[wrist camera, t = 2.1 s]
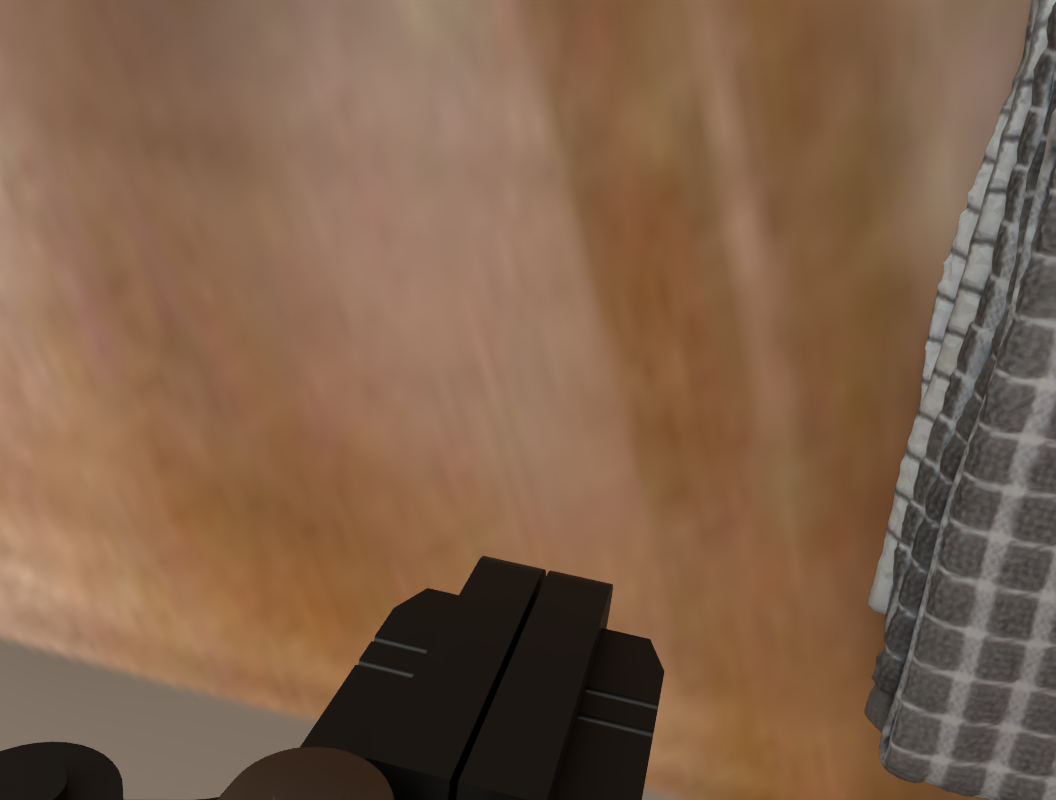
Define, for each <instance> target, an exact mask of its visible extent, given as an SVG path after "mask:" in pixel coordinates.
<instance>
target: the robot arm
mask: <svg viewBox="0 0 1056 800" xmlns="http://www.w3.org/2000/svg"><path fill="white" fill-rule="evenodd" d="M612 590H613V584H609V583H604V582H600V581H595V580H591V579H586V578H582V577H577V576H573V575H568V574H564V573H559V572H555V571H549V572H548V574H547V576H546V571H545V569H540V568H536V567H531V566H527V565H522V564H518V563H513V562H509V561H504V560H500V559H496V558H491V557H487V556H482V557H481V558H480V560H479V561H478V563H477V565H476V566H475V568H474V570H473V572H472V573H471V575H470V577H469V579H468V580H467V582H466V584H465V586H464V587H463V589H462V591H461V593H460V594H459V595H455V594H451V593H446V592H442V591H438V590H433V589H429V588H427V589H425V590H424V591H422V592H420V593H419V594H417V595H415V596H413V597H412V598H410V599H408V600H407V601H405V602H403V603H402V604H400V605H398V606H396V607H395V608H394V609H393V610H392V612H391V613H390V615H389V616H388V618H387V619H386V620H385V622H384V623H383V625H382V626H381V628H380V629H379V631H378V632H377V634H376V635H375V639H374V642H372V641H371V643H370V644H369V646H368V647H367V649H366V650H365V652H364V653H363V655H362V656H361V658H360V659H359V664H358V665H355V666H354V668H353V669H352V671H351V672H350V674H349V675H348V677H347V678H346V680H345V681H344V683H343V684H342V686H341V687H340V689H339V690H338V692H337V693H336V695H335V696H334V698H333V699H332V701H331V702H330V703H329V705H328V706H327V708H326V709H325V711H324V712H323V714H322V715H321V717H320V718H319V720H318V721H317V723H316V724H315V726H314V727H313V729H312V730H311V732H310V733H309V735H308V736H307V738H306V739H305V741H304V742H303V743H302V745H301V746H300V748H293V749H288V750H284V751H280V752H277V753H274V754H271V755H269V756H266V757H264V758H262V759H260V760H259V761H256V762H255V763H253V764H252V765H250V766H249V767H247V768H246V769H245V770H244V771H242V772H241V773H240V774H239V775H238V776H237V777H236V778H235V779H234V780H233V782H232V783H231V784H230V785H229V786H228V787H227V789H226V790H225V791H224V792H223V793H222V794H221V795H220V797H217V798H210V799H198V800H642V795H643V789H644V784H645V778H646V772H647V767H648V761H649V755H650V750H651V744H652V738H653V733H654V727H655V721H656V716H657V710H658V704H659V699H660V693H661V687H662V682H663V676H664V670H663V667H662V665H661V663H660V661H659V658H658V656H657V654H656V651H655V649H654V647H653V645H652V642H651V640H650V639H647V638H643V637H638V636H634V635H630V634H625V633H621V632H617V631H612V630H608V629H606V628H607V622H608V616H609V610H610V604H611V598H612ZM0 800H123V785H122V778H121V775H120V773H119V770H118V769H117V767H116V766H115V765H114V764H113V762H112V761H111V760H110V759H109V758H107V757H106V756H105V755H104V754H102V753H100V752H98V751H96V750H94V749H92V748H89V747H86V746H83V745H78V744H73V743H67V742H43V743H33V744H27V745H21V746H18V747H14V748H10V749H7V750H3V751H0Z"/></svg>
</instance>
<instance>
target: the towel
mask: <svg viewBox="0 0 1056 800" xmlns="http://www.w3.org/2000/svg"><path fill="white" fill-rule="evenodd" d="M943 266H944V274H943V277H942V280H941V282H940V283H939V285H938V286H937V287H938V293H937V297H936V301H935V305H934V309H933V314H932V319H931V325H930V330H929V334H928V339H927V343H926V347H925V350H926V355H925V362H924V368H923V374H922V387H921V403H920V406H919V408H918V411H917V414H916V417H915V421H914V424H913V428H912V432H911V435H910V437H909V440H908V444H907V447H906V450H905V456H904V458H903V460H902V462H901V465H900V475H899V478H898V481H897V483H896V487H895V493H894V502H893V507H892V511H891V515H890V518H889V522H888V527H887V532H886V537H885V539H884V547H883V551H882V555H881V557H880V559H879V562H878V567H877V571H876V574H875V578H874V582H873V585H872V589H871V592H870V596H869V600H868V605H869V607H870V608H872V609H873V610H875V611H877V612H879V613H882V614H886V615H885V631H886V633H885V635H884V641H885V649H884V650H883V651H882V652H881V653H880V654H879V655H878V656H877V660H876V668H875V671H874V674H873V676H872V679H873V680H874V682H875V686H874V687H873V689H872V690H871V692H870V695H869V698H868V701H867V704H866V707H865V715H866V716H867V718H868V719H869V720H870V721H871V722H872V724H873V725H874V726H875V727H876V728H877V729H878V730H879V731H881V732H882V736H881V740H880V745H879V756H880V760H881V763H882V765H883V766H884V768H885V769H886V770H887V771H888V772H889V773H891V774H893V775H895V776H896V777H898V778H900V779H902V780H906V781H909V782H913V783H920V782H927V783H930V784H932V785H935V786H938V787H940V788H942V789H943V790H945V791H948V792H954V793H957V794H960V795H963V796H974V797H980V798H986V799H989V800H1056V0H1032V2H1031V8H1030V14H1029V21H1028V26H1027V30H1026V39H1025V49H1024V53H1023V58H1022V61H1021V64H1020V66H1019V69H1018V71H1017V73H1016V76H1015V78H1014V80H1013V84H1012V92H1011V93H1010V95H1009V96H1008V98H1007V100H1006V101H1005V103H1004V104H1003V107H1002V109H1001V112H1000V115H999V118H998V121H997V124H996V127H995V129H994V132H993V135H992V138H991V140H990V142H989V144H988V146H987V148H986V153H985V156H984V159H983V162H982V165H981V169H980V171H979V172H978V174H977V176H976V179H975V183H974V186H973V188H972V189H971V190H970V192H969V193H968V205H967V208H966V209H965V210H964V211H963V213H962V214H961V215H960V219H959V225H958V233H957V236H956V237H955V239H954V241H953V244H952V249H951V253H950V255H949V257H948V258H947V259H946V261H945V262H944V263H943Z"/></svg>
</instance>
